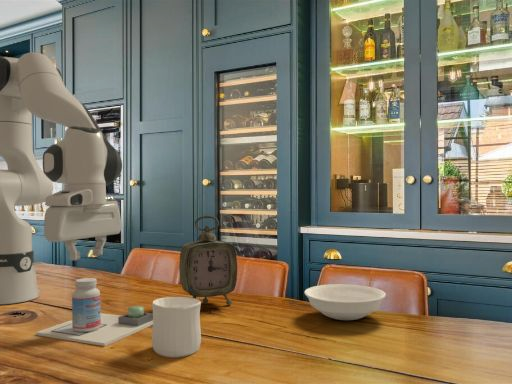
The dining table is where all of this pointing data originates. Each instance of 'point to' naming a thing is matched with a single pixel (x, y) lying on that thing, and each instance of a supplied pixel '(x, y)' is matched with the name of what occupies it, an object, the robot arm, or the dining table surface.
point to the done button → (135, 311)
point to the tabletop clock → (208, 266)
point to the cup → (176, 326)
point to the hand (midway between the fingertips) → (86, 257)
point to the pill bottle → (86, 306)
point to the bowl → (345, 300)
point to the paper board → (94, 331)
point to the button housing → (135, 319)
